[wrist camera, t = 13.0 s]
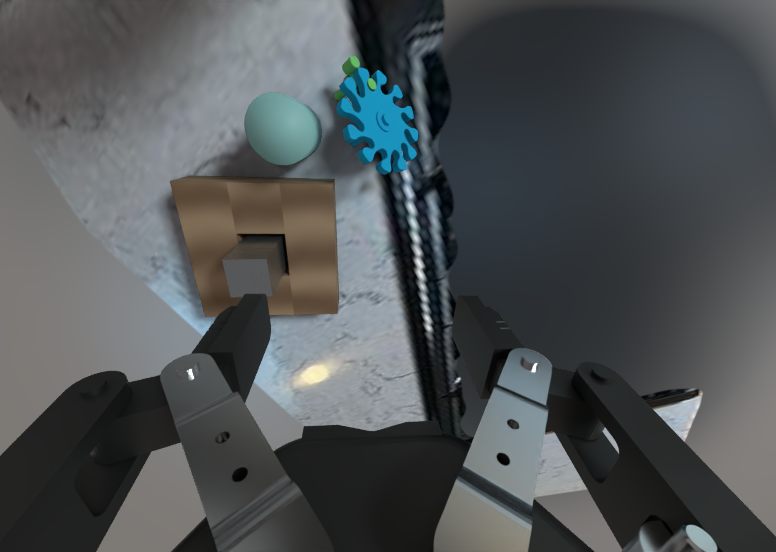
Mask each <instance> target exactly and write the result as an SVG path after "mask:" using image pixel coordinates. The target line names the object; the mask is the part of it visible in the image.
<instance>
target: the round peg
mask: <svg viewBox="0 0 776 552" xmlns="http://www.w3.org/2000/svg"><path fill="white" fill-rule="evenodd" d="M244 125H245V132H246V136H247V139H248V141H249V143H250V145H251V146H252V148H253V149H254V151H255V152H256V153H257V154H258V155H259V156H261V157H262V158H263V159H265V160H266V161H268V162H270V163H273V164H277V165H291V164H294V163H296V162H298V161H300V160H302V159H304V158H305V157H307V156H309V155H311V154H312V153H313V152H315V151H316V149H317V148H318V146H319V144H320V142H321V137H322V129H321V124H320V121H319V119H318V117H317V115H316V114H315V113H314V111H313V110H312V109H311V108H309V107H308V106H307V105H305V104H303V103H301V102H299V101H297V100H296V99H294V98H292V97H290V96H288V95H285V94H282V93H276V92H270V93H265V94H262V95H260V96H259V97H257V98H256V99H254V100H253V102H252V103H251V104H250V105H249V107H248V109H247V112H246V115H245V123H244Z"/></svg>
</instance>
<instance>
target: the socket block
mask: <svg viewBox="0 0 776 552" xmlns="http://www.w3.org/2000/svg"><path fill="white" fill-rule="evenodd" d="M170 184H171V188H172V191H173V195H174V199H175V203H176V207H177V211H178V214H179V218H180V222H181V226H182V230H183V234H184V237H185V241H186V245H187V249H188V253H189V257H190V260H191V264H192V268H193V272H194V276H195V280H196V283H197V287H198V291H199V295H200V299H201V303H202V306H203V310H204V314H205V317H212V316H218V315H219V314H220V313H221V312H222V311H224V310H225V309H227V308H228V307H230V306H237V305H238V304H239V302H240V300H241V299H242V297H231V296H230V292H229V288H228V283H227V279H226V275H225V270H224V266H223V262H222V259H223V258H224V257H225V256H226V255H227V254H228V253H230V252H231V251H232V250H233V249H234V248H235V247H236V246H237V245H238V244H239V243H240V242H241V241H242V240H243V239H244V238H245V237H246V236H247V235H248V234H285V238H286V247H287V256H288V266H287V268H286V270H285V272H284V274H283V276H282V278H281V280H280V282H279V284H278V286H277V288H276V290H275V292H274V294H273V296H267V301H268V308H269V315H305V314H338V303H339V285H338V258H337V231H336V205H335V179H306V178H264V177H222V176H187V177H183V178H179V179H176V180H172V181H170Z"/></svg>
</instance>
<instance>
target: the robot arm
mask: <svg viewBox="0 0 776 552" xmlns="http://www.w3.org/2000/svg"><path fill="white" fill-rule="evenodd" d="M452 334H453V339H454V341H455V343H456V345H457V348H458V350H459V352H460V354H461V356H462V359H463V361H464V363H465V365H466V367H467V369H468V372H469V374H470V376H471V379H472V381H473V383H474V385H475V387H476V389H477V392H478V394H479V396H480V398H481V399H489V402H488V405H487V407H486V410H485V412H484V414H483V417H482V419H481V422H480V424H479V427H478V429H477V432H476V434H475V437H474V439H473V442H472V444H469V443H468V442H466V441H464V440H462V439H461V438H458V437H456V436H454V435H451V434H448V433H444V432H441V430H440V426H439V423H438V421H419V422H405V423H401V424H398V425H394V426H391V427H388V428H384V429H381V430H377V431H367V430H362V429H356V428H351V427H346V426H341V425H325V426H304V429H303V435H302V438H300V439H297V440H295V441H292V442H289V443H287V444H285V445H283V446H281V447H280V448H278V449H276V450H275V451H273V450H272V449H271V447H270V445H269V443H268V442H267V440H266V438H265V437H264V435H263V433H262V432H261V430H260V428H259V427H258V425H257V423H256V421H255V420H254V418H253V416H252V415H251V413H250V411H249V410H248V408H247V407H246V405H245V402H246V399H247V396H248V394H249V392H250V389H251V386H252V384H253V381H254V379H255V376H256V374H257V371H258V369H259V366H260V364H261V361H262V358H263V356H264V353H265V351H266V348H267V346H268V343H269V340H270V336H271V323H270V315H269V308H268V301H267V296H266V294H244V296H243V297H242V299H241V300H240V302H239V304H238V305H237V306H230V307H228V308H227V309H225V310H224V311H222V312H221V313H220V314H219V315H218V317H217V318H216V319H215V321H214V323H213V324H212V325H211V326H210V328H209V331H207V332H206V333H205V335H204V336H203V338H202V339H201V341H200V342H199V344H198V345H197V346H196V348H195V349H194V350H193V352H192V353H191V354H189V355H185V356H182V357H180V358H178V359H176V360H174V361H172V362H171V363H169V364H168V365H167V366H166V367H165V368H164V369H163V370H162V372H161V374H160V375H158V376H155V377H151V378H146V379H142V380H138V381H133V382H128V380H127V377H126V375H125V374H124V373H122V372H118V371H106V372H100V373H97V374H94V375H91V376H88V377H86V378H83V379H81V380H80V381H78V382H76V383H74V384H73V385H71V386H70V387H69V388H68V389H66V390H65V391H64V392H63V393H62V394H61V395H60V396H59V397H58V398H57V399H56V400H55V402H53V403H52V404H51V405H50V406H49V407H48V408H47V409H46V410H45V411H44V412H43V413H42V414H41V415H40V416H39V417H38V418H37V419H36V420H35V421H34V422H33V423H32V424H31V425H30V426H29V427H28V428H27V429H26V430H25V431H24V432H23V433H22V434H21V436H19V437H18V438H17V440H16V441H14V443H12V445H10V446H9V448H8V449H7V450H6V451H5V452H4V453H3V454H2V455H1V456H0V552H96V551H97V549H98V547H99V545H100V544H101V542H102V540H103V538H104V536H105V535H106V533H107V531H108V529H109V527H110V525H111V524H112V522H113V520H114V518H115V516H116V515H117V512H118V511H119V509H120V507H121V506H122V504H123V502H124V500H125V498H126V497H127V494H128V493H129V491H130V489H131V487H132V486H133V484H134V482H135V480H136V478H137V477H138V475H139V473H140V471H141V469H142V468H143V466H144V464H145V462H146V460H147V458H148V457H149V455H150V453H151V451H155V450H158V449H161V448H164V447H168V446H171V445H174V444H177V443H180V442H181V443H182V446H183V449H184V452H185V455H186V458H187V461H188V464H189V467H190V469H191V472H192V476H193V479H194V482H195V485H196V487H197V490H198V493H199V496H200V499H201V502H202V505H203V508H204V511H205V514H206V517H205V518H204V519H203V520H202V521H201V522H200V523H199V524H198V525H197V526H196V528H194V530H192V531H191V532H190V533H189V534H188V535H187V536H186V538H184V539H183V540H182V541H181V542H180V543H179V544H178V545H177V546H176V547H175V548H174V549H173V550H172V551H171V552H594V551H593V550H592V549H591V548H590V547H588V546H587V545H586V544H585V543H584V542H583V541H582V540H580V539H579V538H578V537H577V536H576V535H575V534H574V533H572V532H571V531H570V530H569V529H568V528H567V527H566V526H564V525H563V524H562V523H561V522H560V521H559V520H557V519H556V518H555V517H554V516H553V515H552V514H551V513H550V512H548V511H547V510H546V509H545V508H544V507H543V506H541V505H540V504H539V503H538V502H537V501H536V500H535V499H534V494H535V488H536V482H537V476H538V470H539V464H540V458H541V452H542V446H543V440H544V434H545V430H549V431H553V432H555V434H556V435H557V437H558V439H559V441H560V442H561V444H562V446H563V448H564V449H565V451H566V453H567V455H568V456H569V458H570V460H571V461H572V463H573V465H574V467H575V468H576V470H577V472H578V474H579V475H580V477H581V479H582V481H583V482H584V484H585V486H586V487H587V489H588V491H589V492H590V494H591V496H592V498H593V500H594V501H595V503H596V505H597V506H598V508H599V510H600V512H601V513H602V515H603V517H604V519H605V520H606V522H607V524H608V525H609V527H610V529H611V530H612V533H613V534H614V536H615V538H616V539H617V541H618V543H619V545H620V546H621V548H622V552H776V536H775V535H774V534H773V533H772V532H771V531H770V530H769V529H768V528H767V527H766V526H765V525H764V524H763V523H762V522H761V521H760V520H759V519H758V518H757V517H756V516H755V515H754V514H753V513H752V512H751V510H749V508H748V507H747V506H746V505H744V503H743V502H742V501H741V500H740V499H739V498H738V497H737V496H736V495H735V494H734V493H733V492H732V491H731V490H730V489H729V488H728V487H727V486H726V485H725V484H724V483H723V482H722V480H721V479H720V478H719V477H718V476H717V475H716V474H715V473H714V472H713V471H712V470H711V469H710V468H709V467H708V466H707V465H706V464H705V463H704V462H703V461H702V460H701V459H700V458H699V457H698V456H697V455H696V454H695V452H693V450H692V449H691V448H690V447H689V446H688V445H687V444H686V443H685V442H684V441H683V440H682V439H681V438H680V437H679V436H678V435H677V434H676V433H675V432H674V431H673V430H672V429H671V428H670V427H669V426H668V425H667V423H666V422H665V421H664V420H663V419H662V418H661V417H660V416H659V415H658V414H657V413H656V412H655V411H654V410H653V409H652V408H651V407H650V406H649V405H648V404H647V403H646V402H645V401H644V400H643V399H642V398H641V397H640V396H639V395H638V394H637V393H636V391H635V390H634V389H633V388H632V387H631V386H630V385H629V384H628V383H627V382H626V381H625V380H624V379H623V378H622V377H621V376H620V375H619V374H618V373H616V372H615V371H613V370H612V369H610V368H608V367H606V366H604V365H601V364H598V363H595V362H582V363H580V364H579V365H578V367H577V369H576V371H575V372H572V371H567V370H562V369H557V368H554V367H552V365H551V363H550V362H549V361H548V360H547V359H546V358H545V357H544V356H543V355H541V354H539V353H537V352H535V351H533V350H530V349H525V348H524V346H523V345H522V344H521V342H520V341H519V340H518V338H517V337H516V336H515V334H514V333H513V332H512V330H511V329H509V326H508V325H507V324H506V323H505V322H504V320H503V318H502V317H501V316H500V314H499V313H498V312H496V311H495V310H493V309H492V308H490V307H485V305H484V304H483V303H482V301H481V300H480V298H479V297H478V296H476V295H460V296H459V297H458V299H457V303H456V309H455V314H454V319H453V325H452ZM605 427H606V429H607V430H608V431H609V433H610V434H611V435H612V437H613V438H614V440H615V441H616V443H617V445H618V448H619V454H618V452H617V451H616V450H615V448H614V447H613V445H612V444H611V443H610V441H609V440H608V439H607V437H606V436H605V435H604V433H603V432H602V431H603V430H604V428H605Z"/></svg>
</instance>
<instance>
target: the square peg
mask: <svg viewBox="0 0 776 552" xmlns="http://www.w3.org/2000/svg"><path fill="white" fill-rule="evenodd" d="M222 262H223V266H224V270H225V275H226V279H227V283H228V288H229V292H230V296H231V297H243V296H244V294H266V296H273V294H274V292H275V290H276V288H277V286H278V284H279V282H280V280H281V278H282V276H283V274H284V272H285V270H286V268H287V266H288V256H287V247H286V238H285V234H248V235H247V236H246V237H245V238H244V239H243V240H242V241H241V242H240V243H239V244H238V245H237V246H236V247H235V248H234V249H233V250H232V251H231V252H230V253H228V254H227V255H226V256H225V257H224V258H223V259H222Z"/></svg>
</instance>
